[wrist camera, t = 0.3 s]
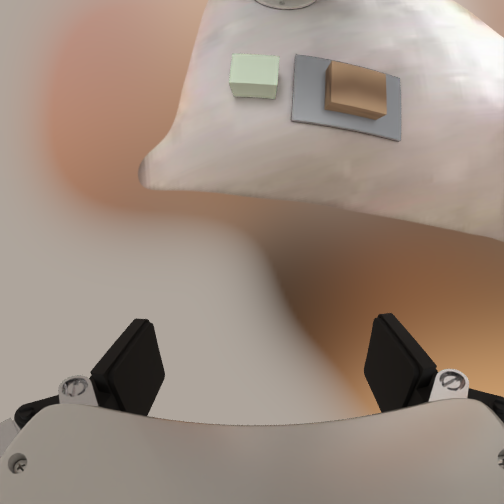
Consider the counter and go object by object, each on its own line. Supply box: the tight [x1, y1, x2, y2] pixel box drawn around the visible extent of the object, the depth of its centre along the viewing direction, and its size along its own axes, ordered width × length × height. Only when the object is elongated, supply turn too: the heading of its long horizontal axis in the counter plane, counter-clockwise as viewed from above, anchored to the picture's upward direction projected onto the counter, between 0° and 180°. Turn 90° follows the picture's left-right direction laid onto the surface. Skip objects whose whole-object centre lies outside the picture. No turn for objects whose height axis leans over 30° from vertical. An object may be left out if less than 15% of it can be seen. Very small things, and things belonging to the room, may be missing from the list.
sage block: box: [229, 54, 279, 99], centre depth 31 cm, size 4×6×6 cm
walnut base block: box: [324, 61, 387, 120], centre depth 31 cm, size 6×8×4 cm
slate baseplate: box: [291, 54, 401, 141], centre depth 33 cm, size 11×17×1 cm, turn 85°
